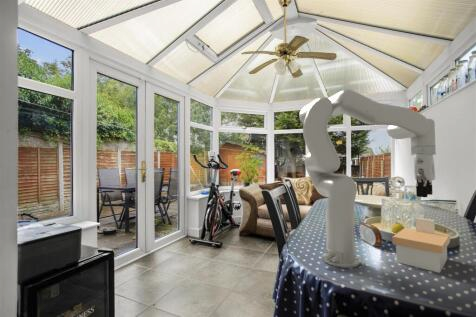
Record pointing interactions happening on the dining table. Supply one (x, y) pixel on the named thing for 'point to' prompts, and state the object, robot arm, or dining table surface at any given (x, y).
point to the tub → (421, 258)
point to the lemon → (397, 228)
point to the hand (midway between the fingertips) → (424, 195)
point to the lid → (422, 237)
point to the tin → (370, 234)
